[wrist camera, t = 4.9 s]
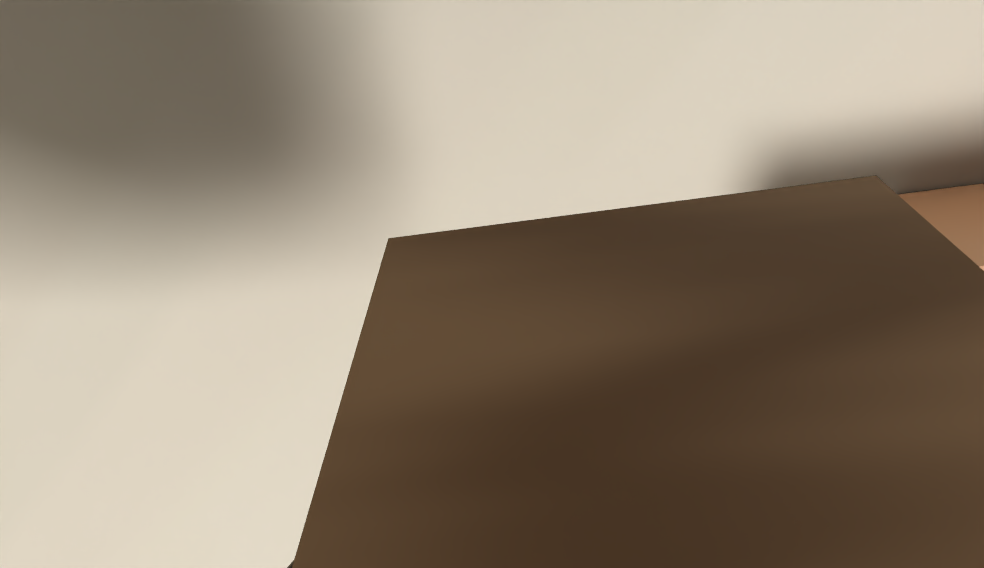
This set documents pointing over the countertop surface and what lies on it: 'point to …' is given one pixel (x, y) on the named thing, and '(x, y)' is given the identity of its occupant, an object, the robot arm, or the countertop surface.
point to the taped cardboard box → (666, 393)
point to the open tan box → (955, 216)
